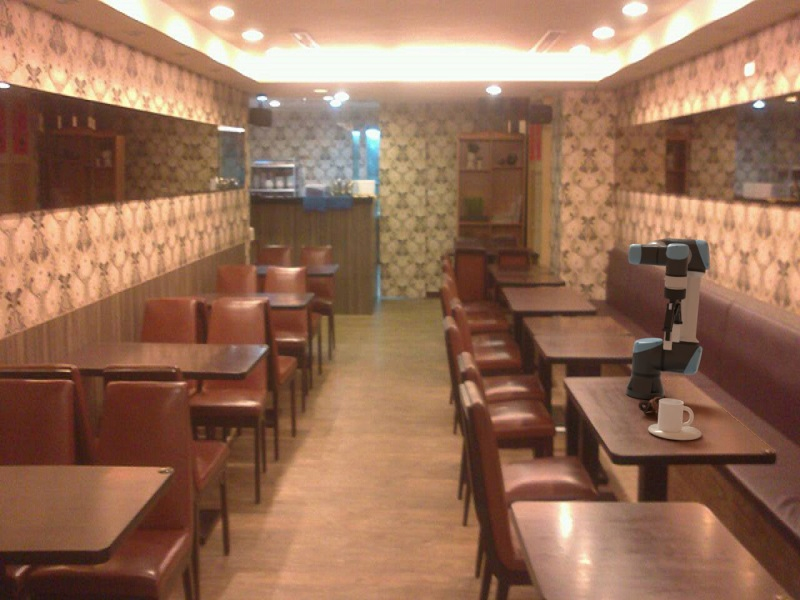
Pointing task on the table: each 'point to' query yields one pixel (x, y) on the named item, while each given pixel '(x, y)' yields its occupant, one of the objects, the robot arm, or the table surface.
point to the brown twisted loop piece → (650, 405)
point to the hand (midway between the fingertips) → (671, 345)
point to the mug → (672, 415)
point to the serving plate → (684, 434)
